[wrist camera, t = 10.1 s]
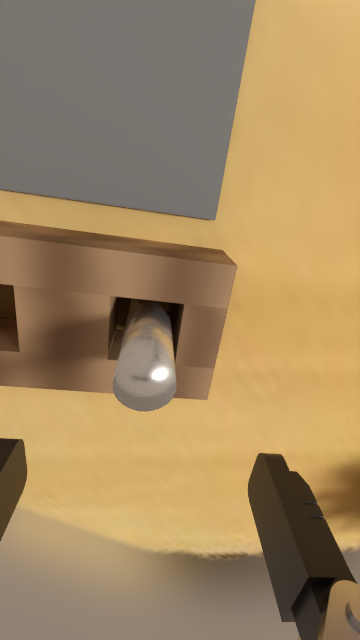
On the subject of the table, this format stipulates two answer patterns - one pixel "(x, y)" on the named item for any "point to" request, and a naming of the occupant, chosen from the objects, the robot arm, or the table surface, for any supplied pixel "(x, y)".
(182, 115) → the mat
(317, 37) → the table surface
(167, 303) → the peg
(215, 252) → the socket block
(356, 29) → the table surface
